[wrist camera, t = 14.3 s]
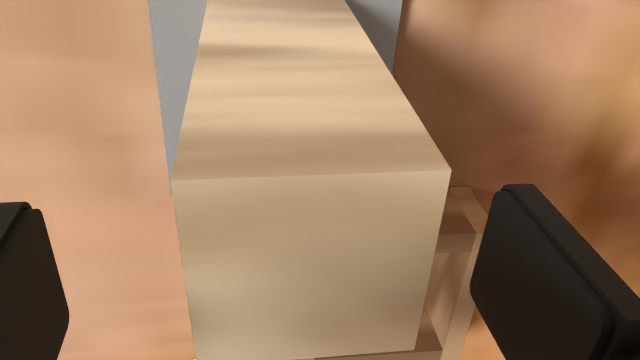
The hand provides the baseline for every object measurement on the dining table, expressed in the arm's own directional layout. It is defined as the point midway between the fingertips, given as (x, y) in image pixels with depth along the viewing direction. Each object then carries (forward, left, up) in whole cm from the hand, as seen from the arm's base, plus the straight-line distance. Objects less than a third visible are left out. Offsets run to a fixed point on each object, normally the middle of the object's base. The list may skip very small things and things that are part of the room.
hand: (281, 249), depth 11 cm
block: (+1, 0, -11) cm, 11 cm away
